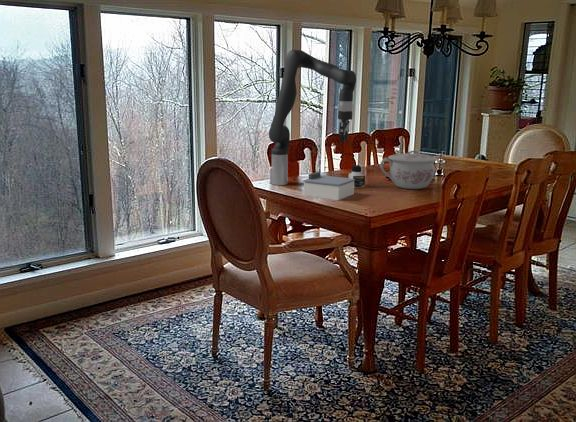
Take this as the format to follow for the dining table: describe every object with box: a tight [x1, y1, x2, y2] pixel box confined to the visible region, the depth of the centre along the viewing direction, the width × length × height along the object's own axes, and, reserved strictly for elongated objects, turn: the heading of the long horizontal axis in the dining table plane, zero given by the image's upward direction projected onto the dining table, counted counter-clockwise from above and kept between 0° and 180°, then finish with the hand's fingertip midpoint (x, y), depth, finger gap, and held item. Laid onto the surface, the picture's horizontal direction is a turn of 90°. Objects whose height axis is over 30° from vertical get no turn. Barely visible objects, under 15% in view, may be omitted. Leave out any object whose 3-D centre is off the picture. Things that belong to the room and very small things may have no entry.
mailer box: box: [303, 181, 355, 201], centre depth 290 cm, size 20×18×7 cm
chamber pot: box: [379, 150, 439, 190], centre depth 311 cm, size 28×28×21 cm
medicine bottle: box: [348, 164, 366, 189], centre depth 312 cm, size 7×7×12 cm
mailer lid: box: [302, 171, 355, 186], centre depth 288 cm, size 21×19×3 cm
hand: (343, 141), depth 291 cm, fingers open, 8 cm apart
